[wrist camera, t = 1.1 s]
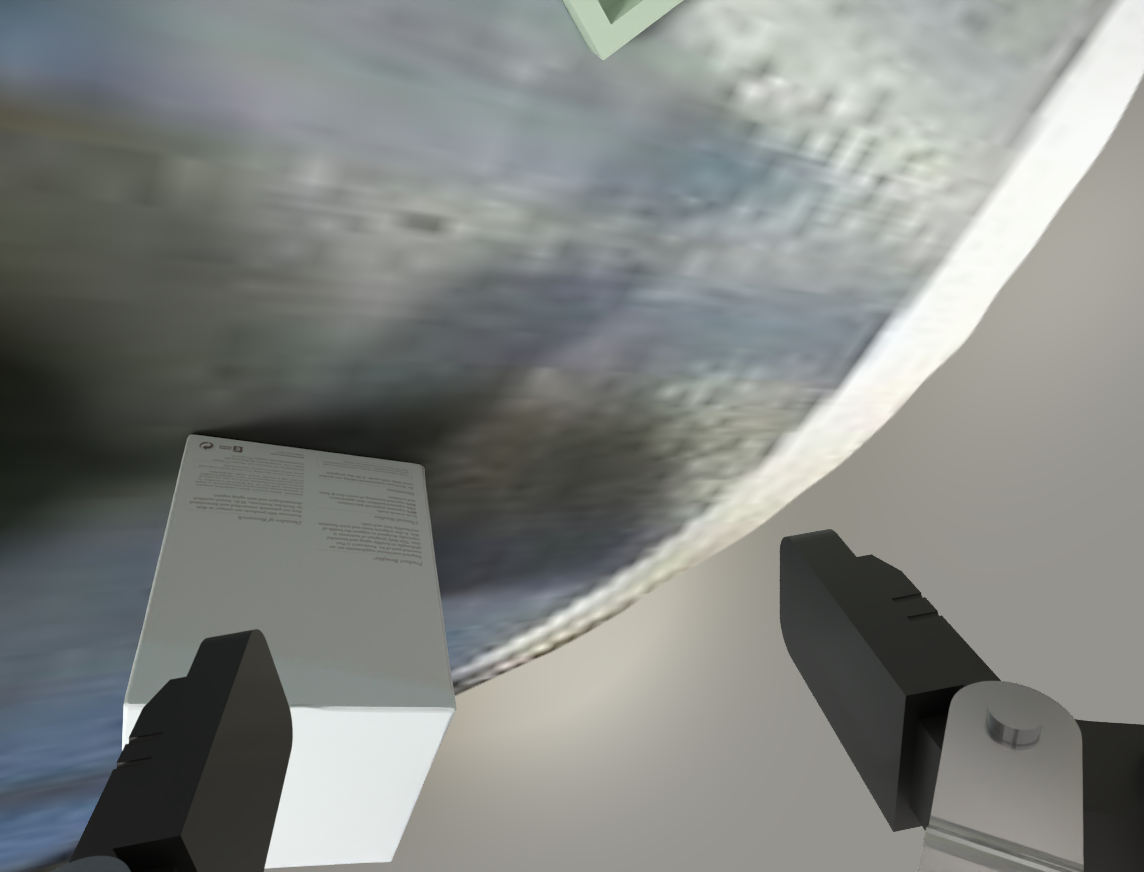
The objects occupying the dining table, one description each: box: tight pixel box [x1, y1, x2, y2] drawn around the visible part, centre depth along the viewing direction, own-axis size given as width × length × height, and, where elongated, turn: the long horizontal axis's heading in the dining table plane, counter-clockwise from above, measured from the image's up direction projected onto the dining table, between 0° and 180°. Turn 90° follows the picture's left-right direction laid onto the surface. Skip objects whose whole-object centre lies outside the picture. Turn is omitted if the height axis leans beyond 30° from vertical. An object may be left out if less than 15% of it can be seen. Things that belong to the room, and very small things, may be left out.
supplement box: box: [122, 435, 456, 868], centre depth 42 cm, size 13×13×18 cm
